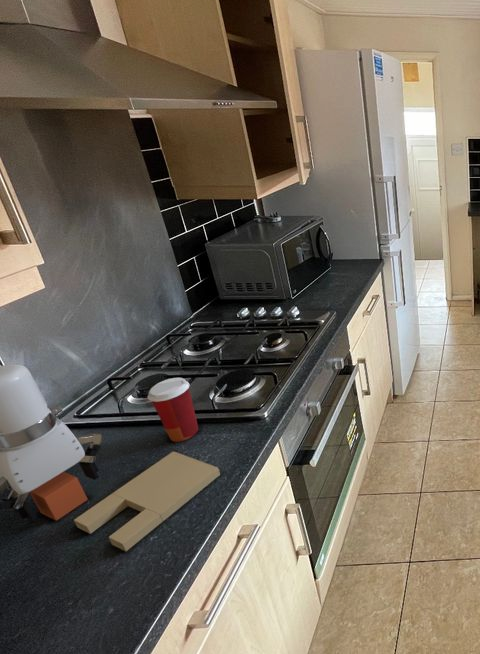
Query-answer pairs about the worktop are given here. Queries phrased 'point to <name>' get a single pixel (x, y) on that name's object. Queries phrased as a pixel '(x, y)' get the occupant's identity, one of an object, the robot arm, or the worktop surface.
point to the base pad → (150, 497)
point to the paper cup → (175, 408)
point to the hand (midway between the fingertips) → (63, 496)
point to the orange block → (59, 496)
